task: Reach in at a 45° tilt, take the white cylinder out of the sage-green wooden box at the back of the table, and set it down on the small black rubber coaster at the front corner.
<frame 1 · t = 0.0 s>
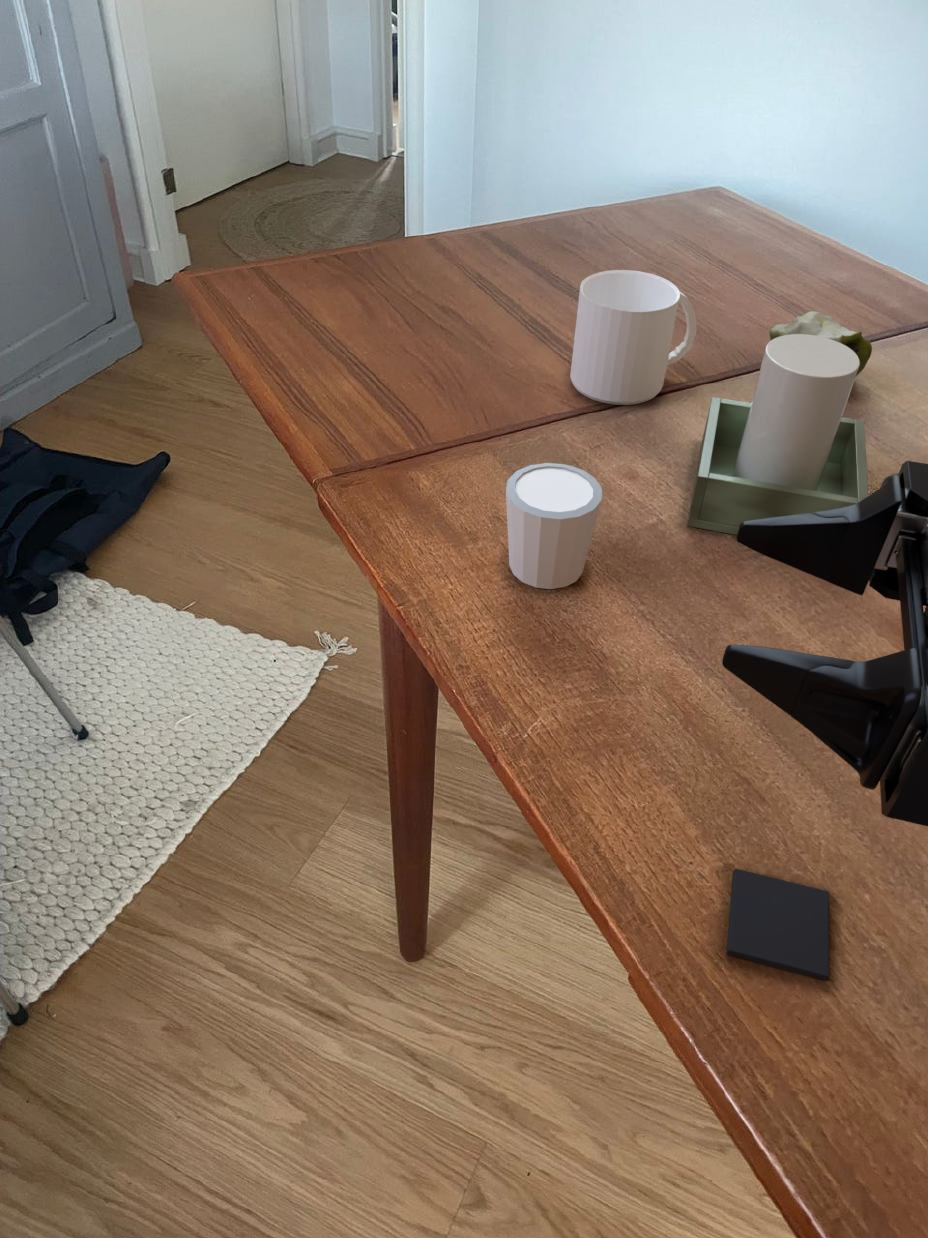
hand: (731, 588, 44), 16 cm above the table, tool horizontal, fingers open, 9 cm apart
coaster: (777, 924, 49), on the table
mug: (630, 383, 92), on the table
faceted white cup: (546, 566, 71), on the table
fruit: (809, 381, 93), on the table
wooden box: (770, 496, 78), on the table
white cylinder: (772, 488, 77), point 1 cm above the table, touching wooden box
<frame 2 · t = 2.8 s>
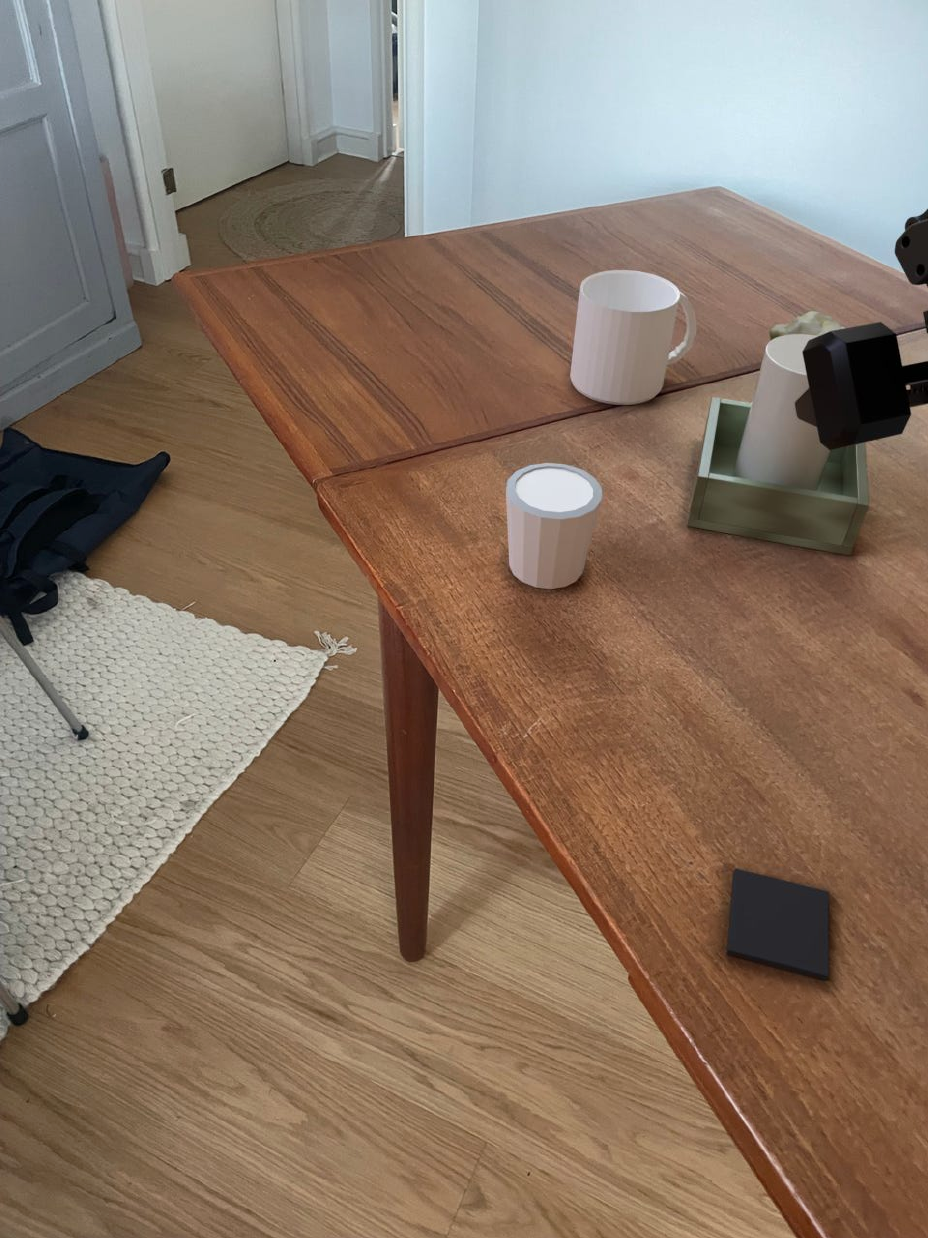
hand: (856, 397, 61), 14 cm above the table, tool tilted 50°, fingers open, 9 cm apart
nothing on the table moved.
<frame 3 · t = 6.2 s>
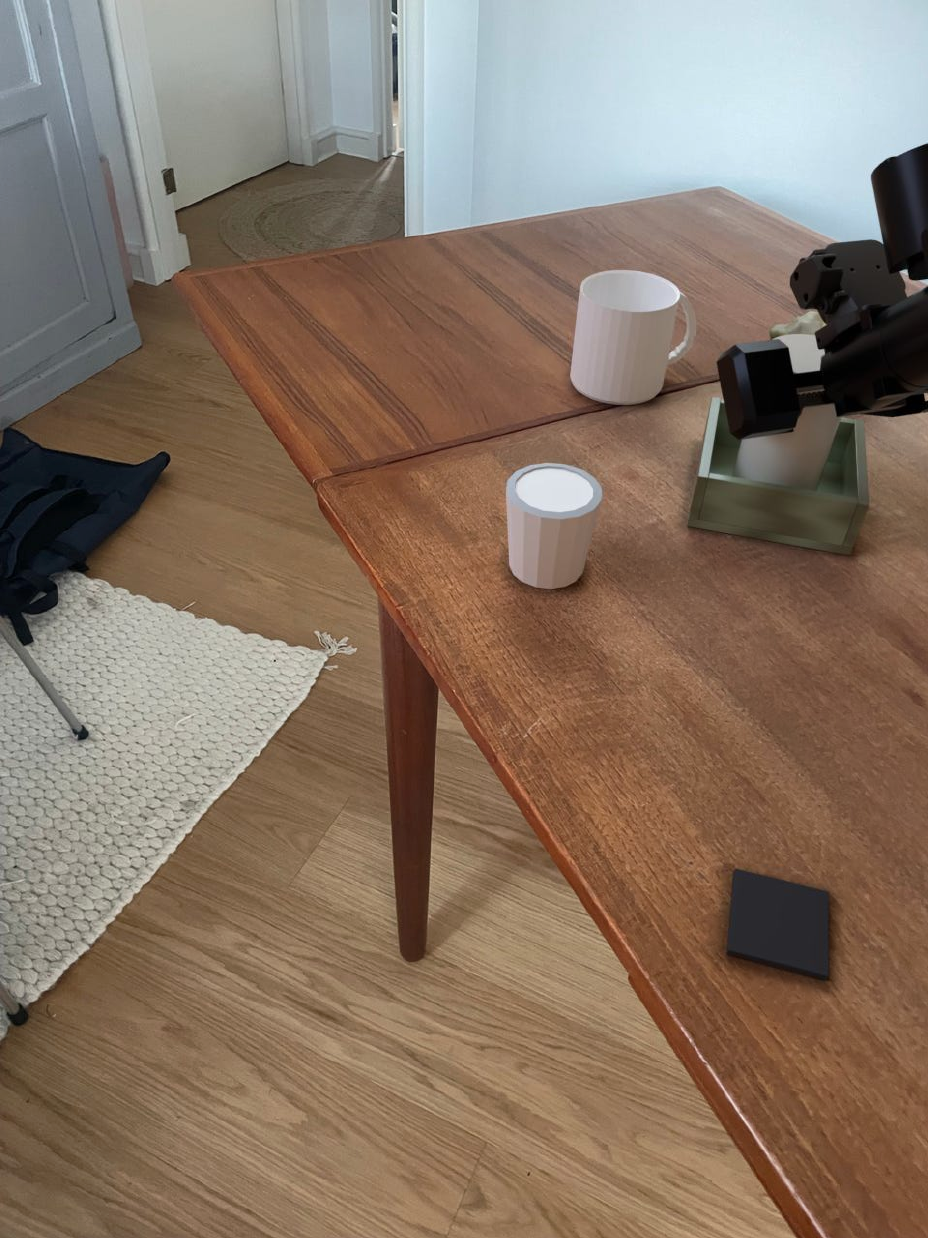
hand: (784, 409, 74), 7 cm above the table, tool tilted 45°, fingers closed on white cylinder, 7 cm apart
white cylinder: (772, 488, 77), point 1 cm above the table, touching gripper, wooden box
everything else where it was.
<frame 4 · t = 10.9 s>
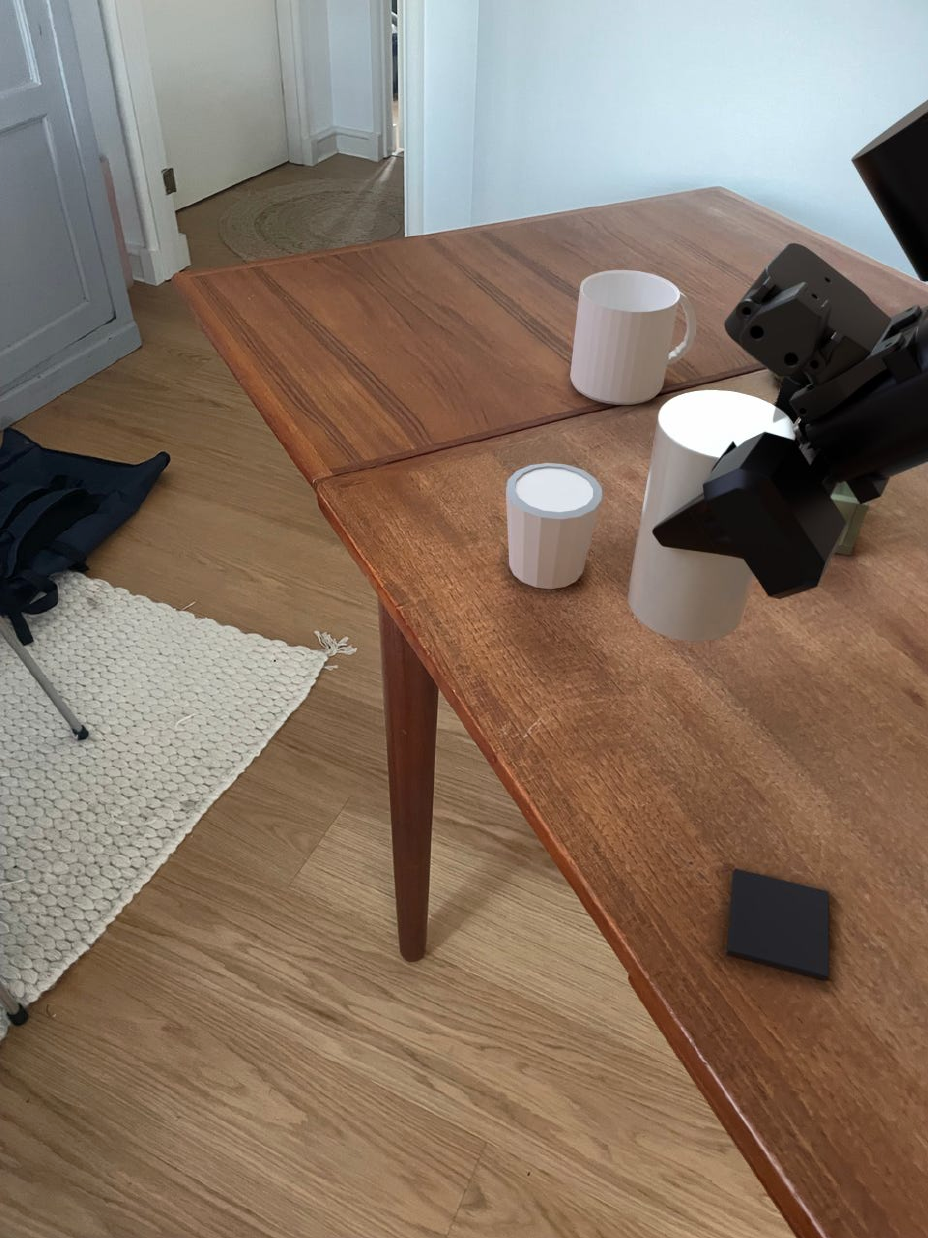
hand: (683, 503, 51), 15 cm above the table, tool tilted 45°, fingers closed on white cylinder, 7 cm apart
white cylinder: (685, 602, 55), point 9 cm above the table, touching gripper
everything else where it was.
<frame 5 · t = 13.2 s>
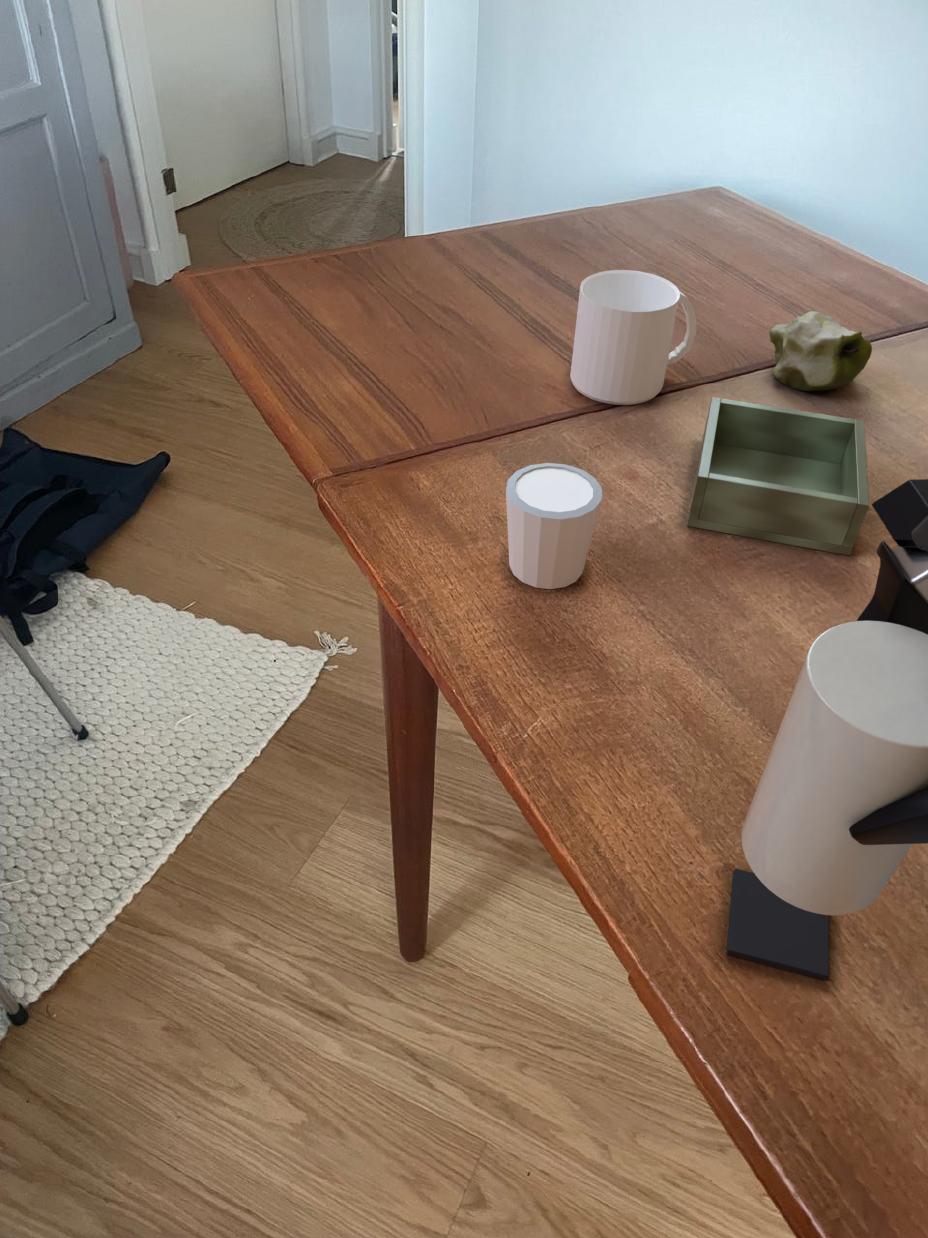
hand: (824, 765, 40), 13 cm above the table, tool tilted 45°, fingers closed on white cylinder, 7 cm apart
white cylinder: (813, 851, 45), point 7 cm above the table, touching gripper
everything else where it was.
when the fingers open (7 cm above the table, at t = 15.6 s): white cylinder stays where it is, resting on coaster.
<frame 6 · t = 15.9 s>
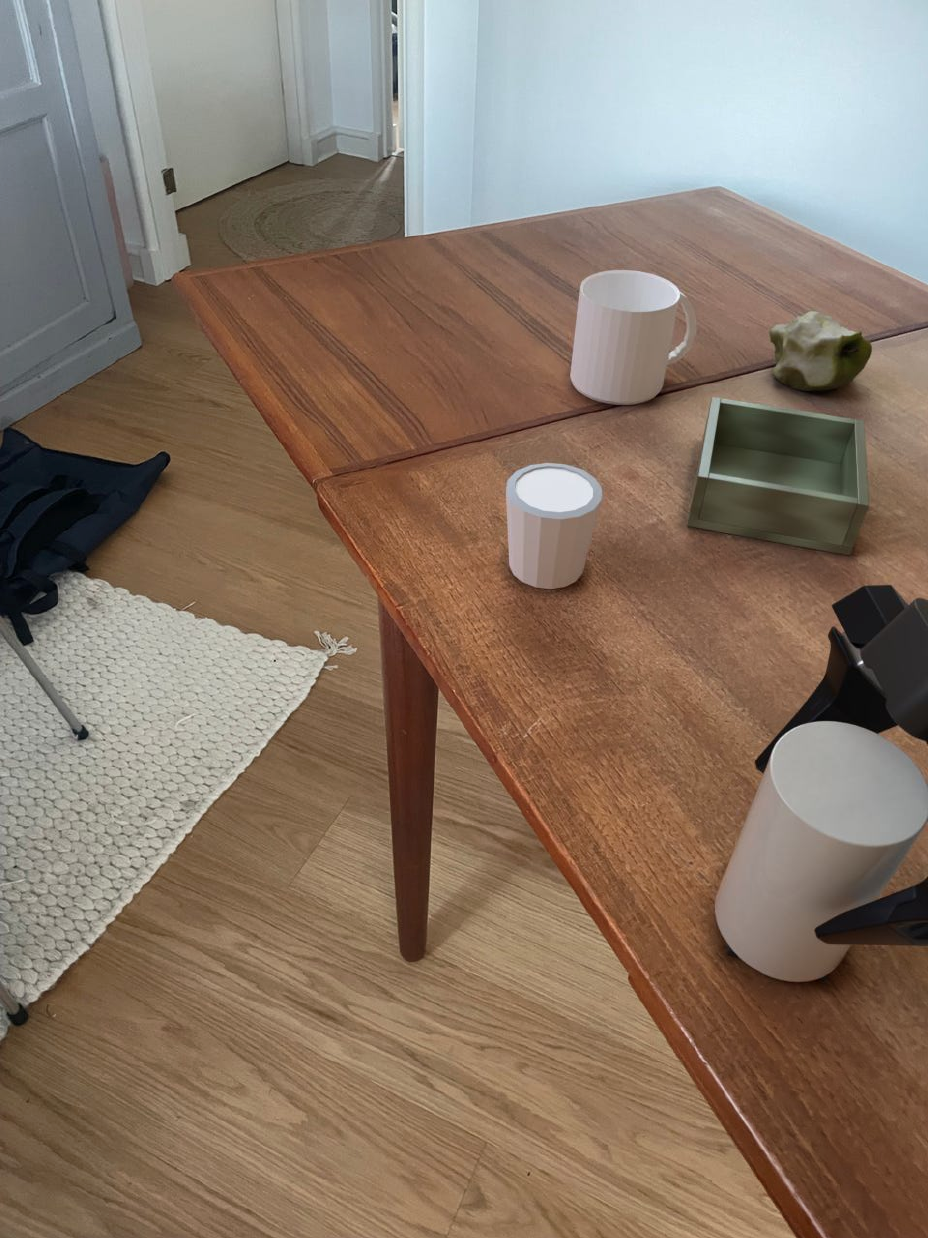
hand: (787, 846, 44), 7 cm above the table, tool tilted 45°, fingers open, 9 cm apart
white cylinder: (780, 920, 49), resting on coaster
everything else where it was.
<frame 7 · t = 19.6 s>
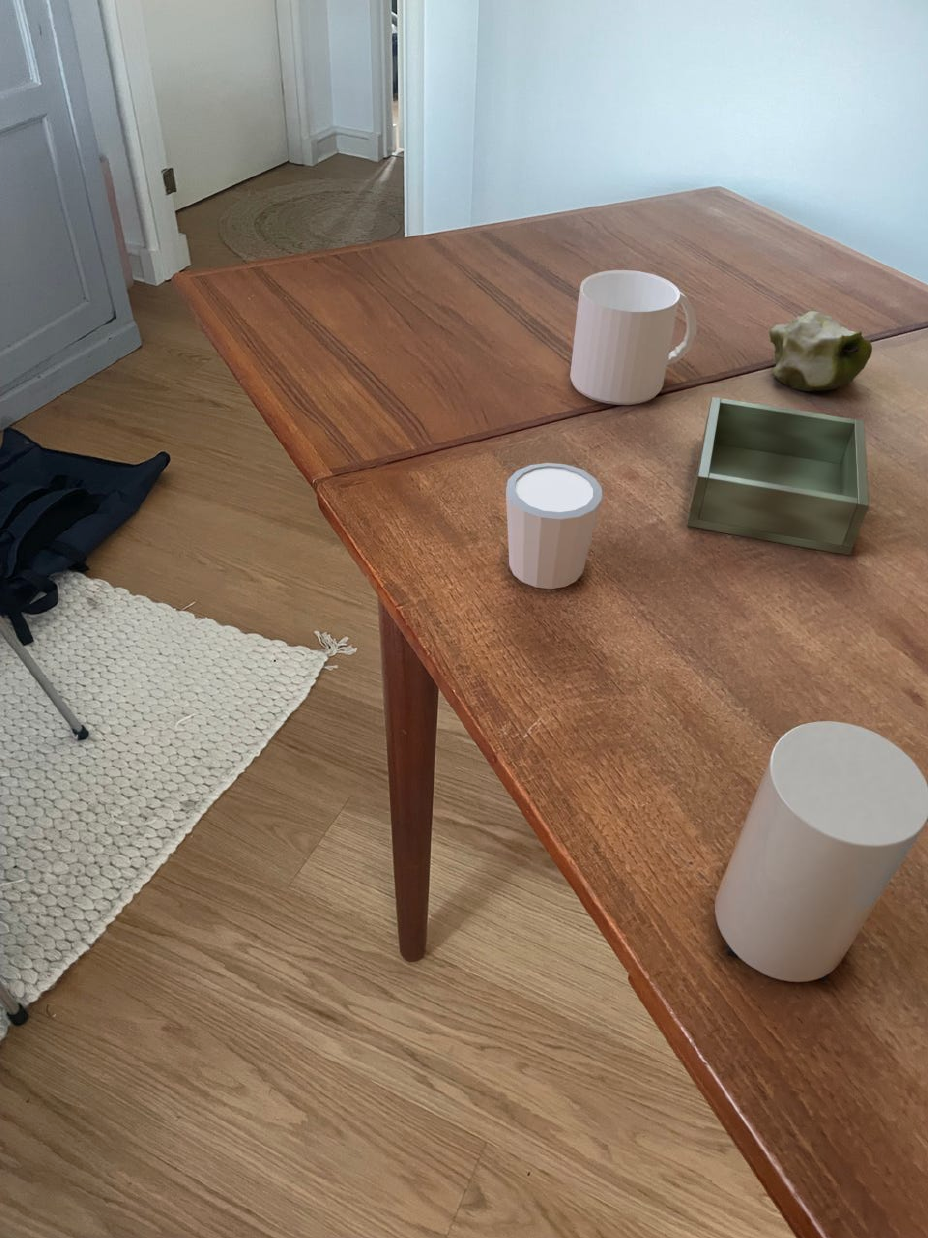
nothing on the table moved.
at the end: white cylinder 0.0 cm off-centre on the coaster, point 0.5 cm above the coaster's base; white cylinder tilted 0°; the gripper is holding nothing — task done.
